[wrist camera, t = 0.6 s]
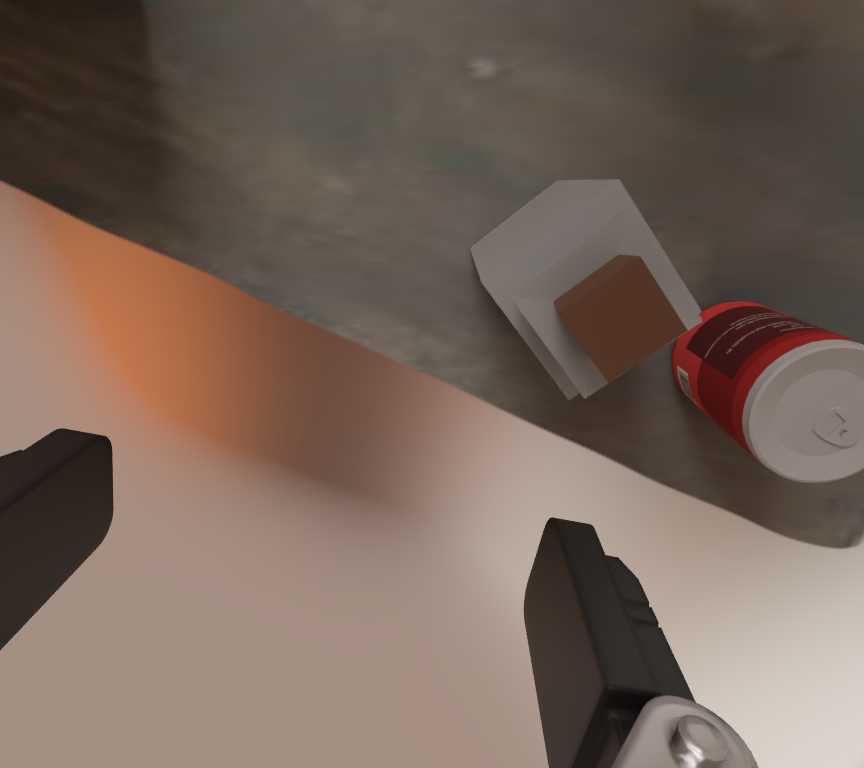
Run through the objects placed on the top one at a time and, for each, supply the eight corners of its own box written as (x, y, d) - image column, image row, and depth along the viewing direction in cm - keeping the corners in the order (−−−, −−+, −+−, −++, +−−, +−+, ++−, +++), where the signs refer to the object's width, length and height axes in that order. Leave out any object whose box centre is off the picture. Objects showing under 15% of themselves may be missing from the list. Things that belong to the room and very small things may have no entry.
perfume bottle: (469, 247, 36) (488, 304, 19) (556, 180, 35) (659, 178, 18) (528, 327, 38) (593, 444, 21) (613, 266, 36) (757, 339, 20)
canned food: (744, 421, 40) (848, 505, 30) (646, 381, 39) (717, 452, 29) (808, 325, 37) (945, 379, 27) (704, 280, 37) (805, 318, 26)
